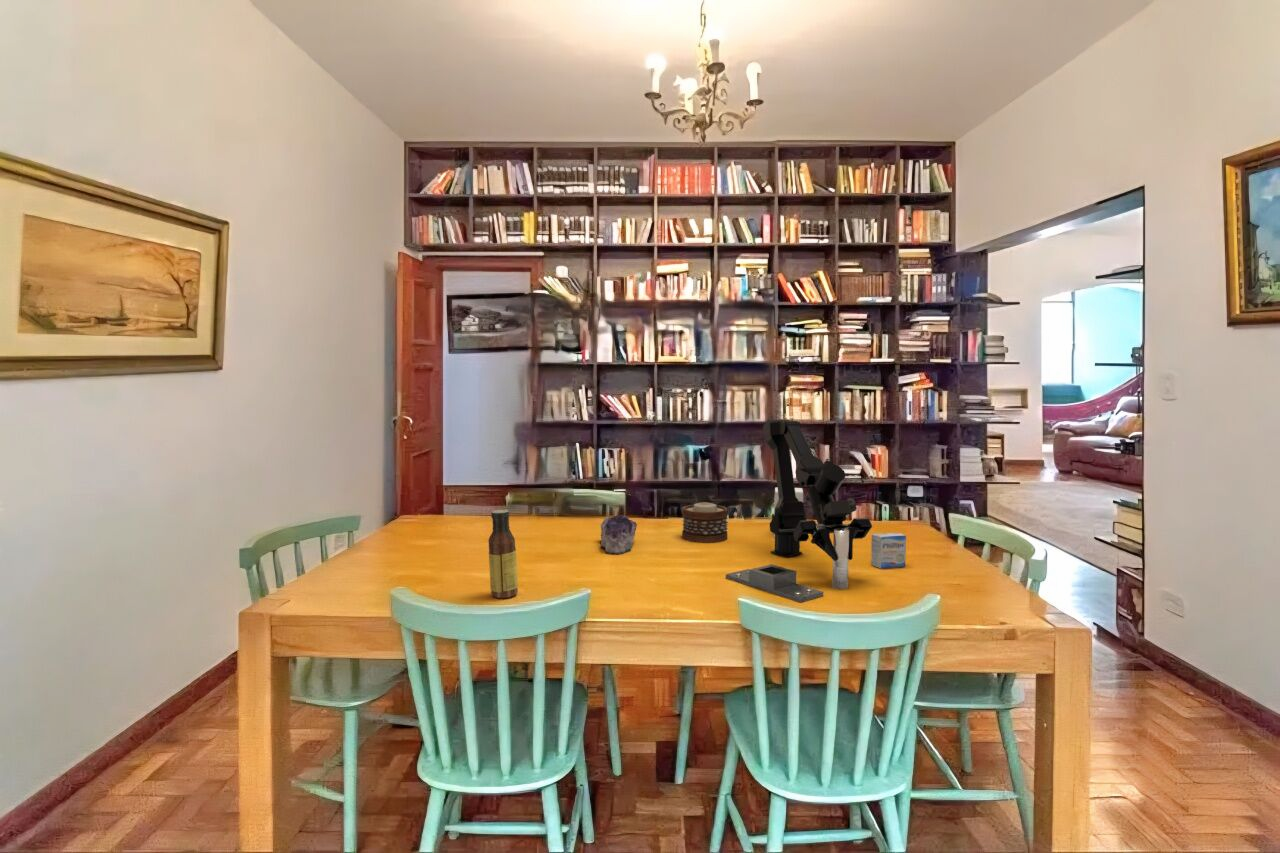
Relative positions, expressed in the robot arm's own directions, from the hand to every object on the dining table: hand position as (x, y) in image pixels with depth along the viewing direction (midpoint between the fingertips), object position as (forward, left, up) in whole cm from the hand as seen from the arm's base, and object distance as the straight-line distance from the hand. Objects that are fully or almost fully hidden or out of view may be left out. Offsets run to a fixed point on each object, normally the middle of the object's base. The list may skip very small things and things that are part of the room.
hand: (843, 559), depth 169 cm
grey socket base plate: (-11, -12, -7) cm, 18 cm away
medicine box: (-5, +27, -7) cm, 28 cm away
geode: (-66, -19, -7) cm, 69 cm away
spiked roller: (-59, +10, -7) cm, 60 cm away
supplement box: (-45, +33, -7) cm, 56 cm away
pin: (-1, +1, -7) cm, 7 cm away
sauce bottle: (-44, -67, -7) cm, 81 cm away
